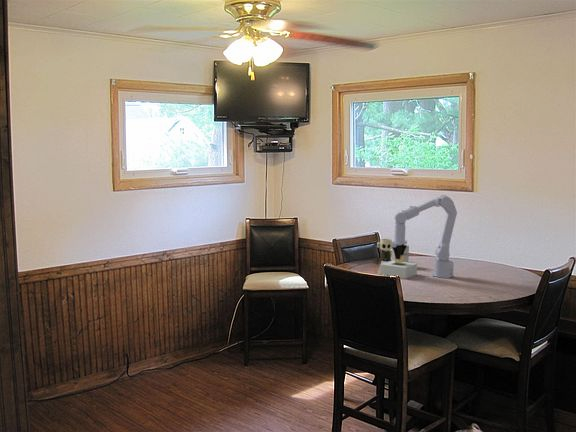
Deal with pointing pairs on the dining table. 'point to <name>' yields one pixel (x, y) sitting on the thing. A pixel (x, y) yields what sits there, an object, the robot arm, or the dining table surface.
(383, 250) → the character mug
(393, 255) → the supplement box
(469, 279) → the dining table surface
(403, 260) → the wooden block
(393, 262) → the white square ring
